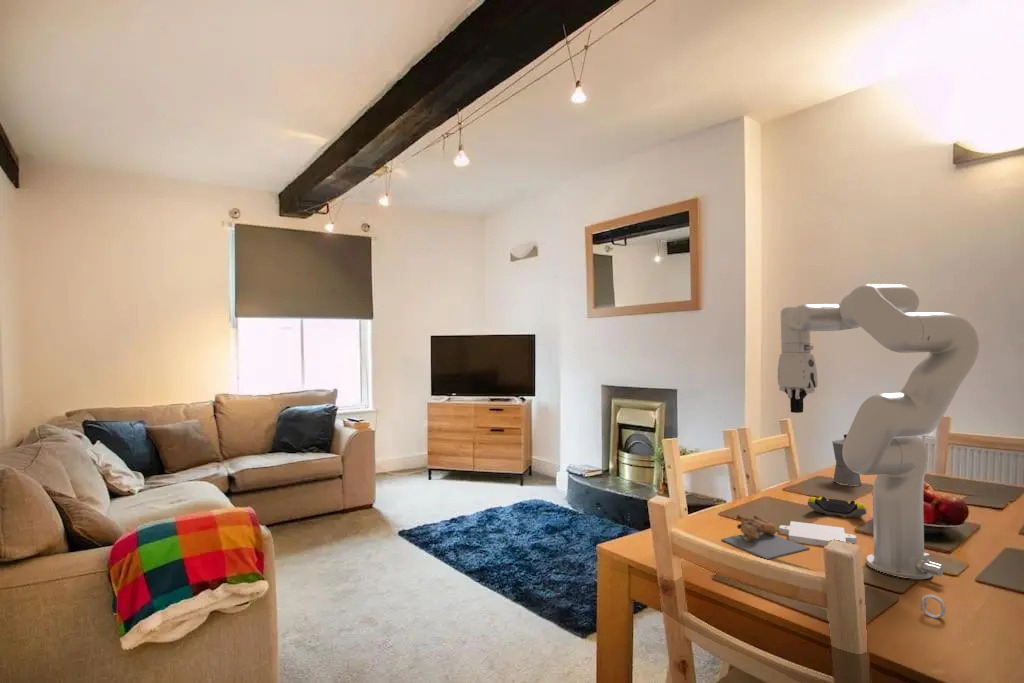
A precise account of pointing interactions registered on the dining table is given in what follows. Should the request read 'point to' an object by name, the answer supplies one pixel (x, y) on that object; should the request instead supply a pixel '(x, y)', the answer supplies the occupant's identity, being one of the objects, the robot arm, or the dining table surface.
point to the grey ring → (923, 606)
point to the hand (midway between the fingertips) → (796, 412)
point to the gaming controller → (837, 507)
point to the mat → (766, 545)
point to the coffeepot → (843, 466)
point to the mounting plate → (815, 533)
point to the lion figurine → (755, 527)
